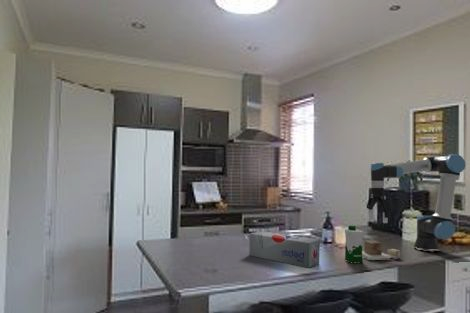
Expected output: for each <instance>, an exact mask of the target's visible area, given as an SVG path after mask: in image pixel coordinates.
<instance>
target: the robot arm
mask: <svg viewBox="0 0 470 313" xmlns="http://www.w3.org/2000/svg"><path fill="white" fill-rule="evenodd" d="M465 169H466V160H465V159H464V157H463V156H461V155H459V154H455V153H445V154H437V155H433V156H428V157H424V158H422V159H420V160H413V161H406V162H400V163H394V164H393V163H392V164H386V165H384V163H383V162H372V163H371V165H370V180H371V181H370V182H371V183H370V185H371V188H370V193H371V194H369V196H368V200H367V203H366V206H365V207H366V209H367V210H368V220H369V221H370V220H371V221H372V220H373V221H374V216H375V215H374V207H375V206H376V203H378V204H379V205H380V207H381V209H382V223H383V224H388V222H389V221H388V220H389V219H388V217H389V212H391V207H390V205H389V202H388V199H387V198H388V197H387V195H384V194H385V188H384V187H385V179H387V178H388V179H398V178H402V177H403V175H405V174H407V175H408V174H412V173H413V174H414V173H419V172H420V173H422V172H426V173H429V172H431V173H432V172H435V173H436V172H437V173H438V175H439V176H440V179H439V180H440V181H439V187H438V192H437V199H436V205H435V210H434V213H433V214H431V215H417V218H416V238H415V242H414V244H413V248H414V247H417V248H423V249H439V250H440V247H439V242H438V239H440V240H449V239H450V238H452V237H453V236H454V235H455V233H456V226H455V225H454V223H453V220H454V219H453V218H452V216H451V214H452V207H453V201H454V196H455V189H456V182H457V179H458V178H459V177H460V175H461V173H462V172H464V170H465Z"/></svg>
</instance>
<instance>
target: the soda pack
mask: <svg viewBox="0 0 470 313" xmlns="http://www.w3.org/2000/svg"><path fill="white" fill-rule="evenodd" d="M320 243H321V240H320V239H317V238H310V237H305V236H304V237H303V236H296V235H289V234H282V233H279V232H277V233H276V232H271V231H270V232H269V231H263V230H260V231H255V232H250V233H249V250H248V251H249V252H248V253H249V254H248V255H249V256H252V257H256V258H261V259H265V260H270V261H276V262H280V263H284V264H289V265H295V266H299V267H303V268H309V269H310V268H312V267H314V266H316V265H319V264H320V245H321V244H320Z"/></svg>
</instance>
